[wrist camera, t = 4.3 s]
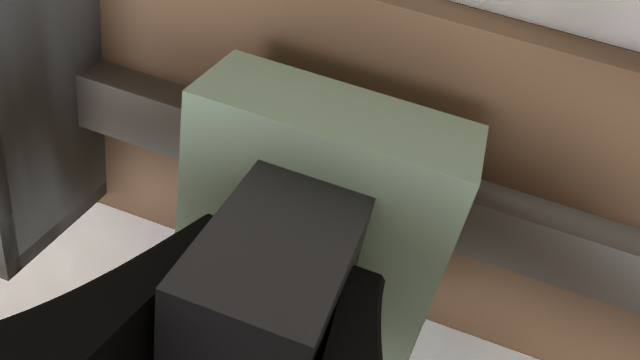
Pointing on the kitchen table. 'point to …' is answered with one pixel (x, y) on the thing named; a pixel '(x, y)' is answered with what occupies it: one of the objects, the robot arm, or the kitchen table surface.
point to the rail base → (373, 74)
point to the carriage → (308, 211)
